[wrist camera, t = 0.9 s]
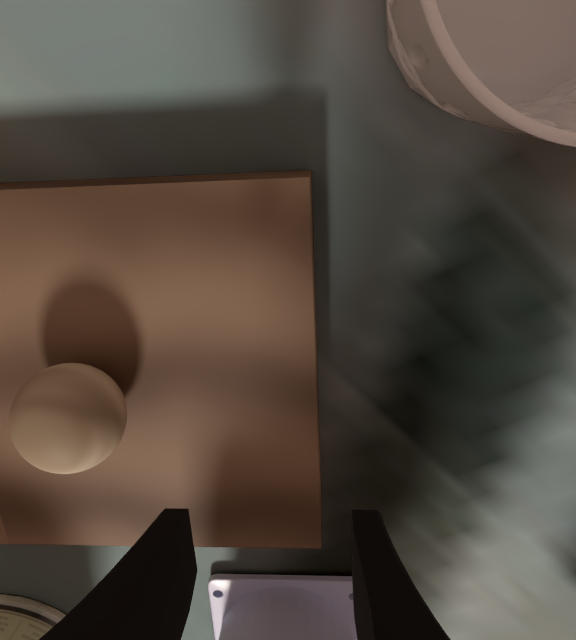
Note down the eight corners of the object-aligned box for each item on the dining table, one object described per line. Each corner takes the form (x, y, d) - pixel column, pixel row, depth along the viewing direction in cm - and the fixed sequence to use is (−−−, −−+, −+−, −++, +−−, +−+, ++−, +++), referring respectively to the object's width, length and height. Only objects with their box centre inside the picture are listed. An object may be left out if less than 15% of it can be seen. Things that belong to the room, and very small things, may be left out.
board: (321, 509, 26) (321, 548, 23) (-102, 505, 27) (-142, 541, 25) (311, 170, 20) (309, 177, 18) (-223, 192, 22) (-289, 201, 19)
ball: (148, 433, 22) (111, 498, 18) (55, 433, 22) (0, 498, 18) (133, 344, 20) (90, 396, 17) (34, 346, 21) (-30, 397, 17)
